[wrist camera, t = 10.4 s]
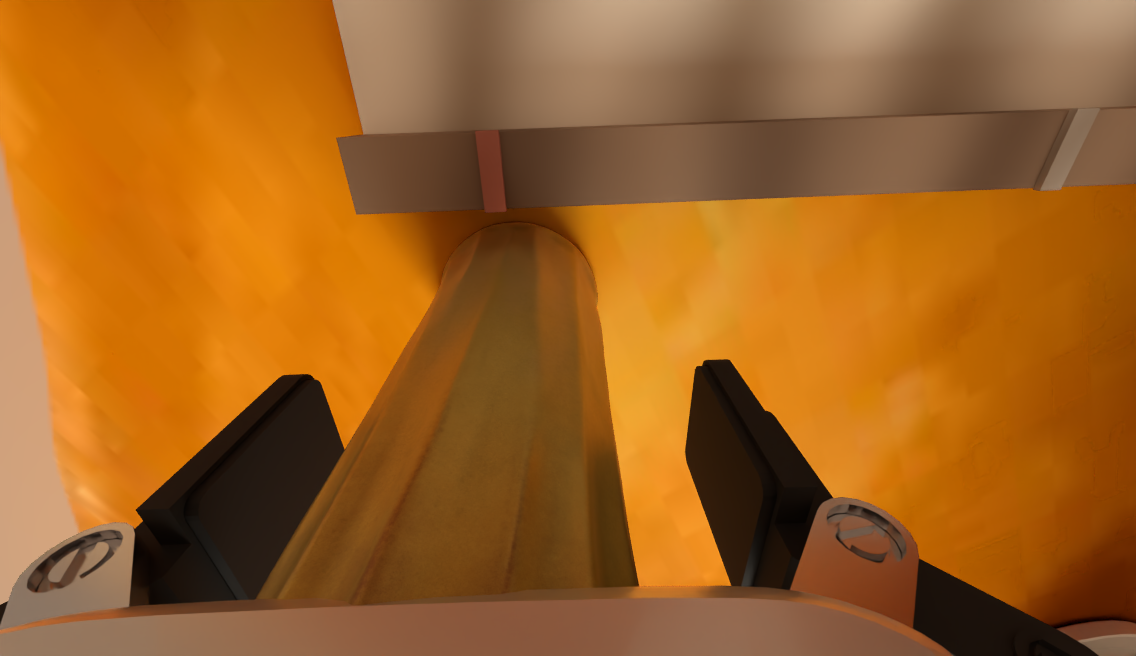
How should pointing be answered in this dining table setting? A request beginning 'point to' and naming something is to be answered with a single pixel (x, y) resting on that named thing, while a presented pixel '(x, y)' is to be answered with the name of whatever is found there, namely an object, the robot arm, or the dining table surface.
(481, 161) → the fence board
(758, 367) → the dining table surface
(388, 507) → the vase
